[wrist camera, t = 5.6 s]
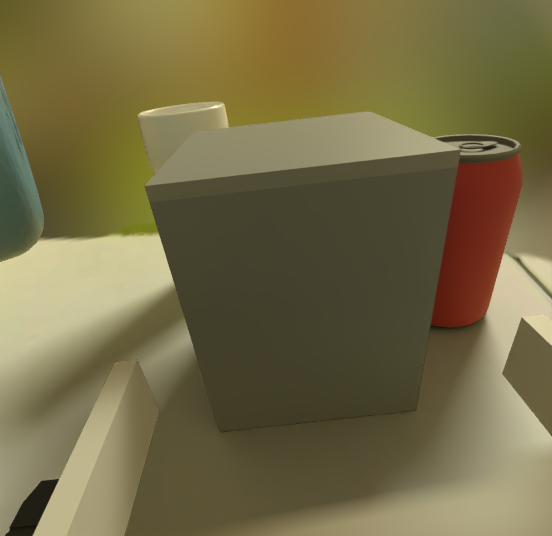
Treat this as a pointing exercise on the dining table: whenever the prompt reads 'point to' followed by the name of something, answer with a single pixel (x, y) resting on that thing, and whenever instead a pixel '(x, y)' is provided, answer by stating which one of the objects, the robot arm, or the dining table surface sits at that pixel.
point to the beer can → (476, 226)
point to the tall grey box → (307, 263)
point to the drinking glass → (177, 128)
